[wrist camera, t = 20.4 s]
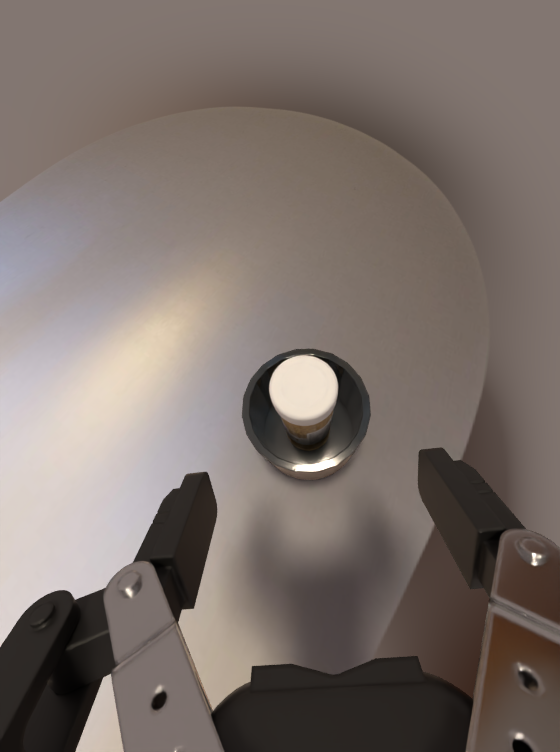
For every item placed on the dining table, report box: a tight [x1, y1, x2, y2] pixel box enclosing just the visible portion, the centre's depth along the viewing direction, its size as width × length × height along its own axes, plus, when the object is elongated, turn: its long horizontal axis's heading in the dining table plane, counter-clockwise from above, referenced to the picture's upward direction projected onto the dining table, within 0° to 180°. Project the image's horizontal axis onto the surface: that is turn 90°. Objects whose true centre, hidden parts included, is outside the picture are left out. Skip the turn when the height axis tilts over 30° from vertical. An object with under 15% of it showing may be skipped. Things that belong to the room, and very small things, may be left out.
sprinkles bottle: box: [269, 355, 338, 451], centre depth 26 cm, size 5×5×13 cm
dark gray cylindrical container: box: [242, 349, 371, 480], centre depth 29 cm, size 10×10×9 cm
